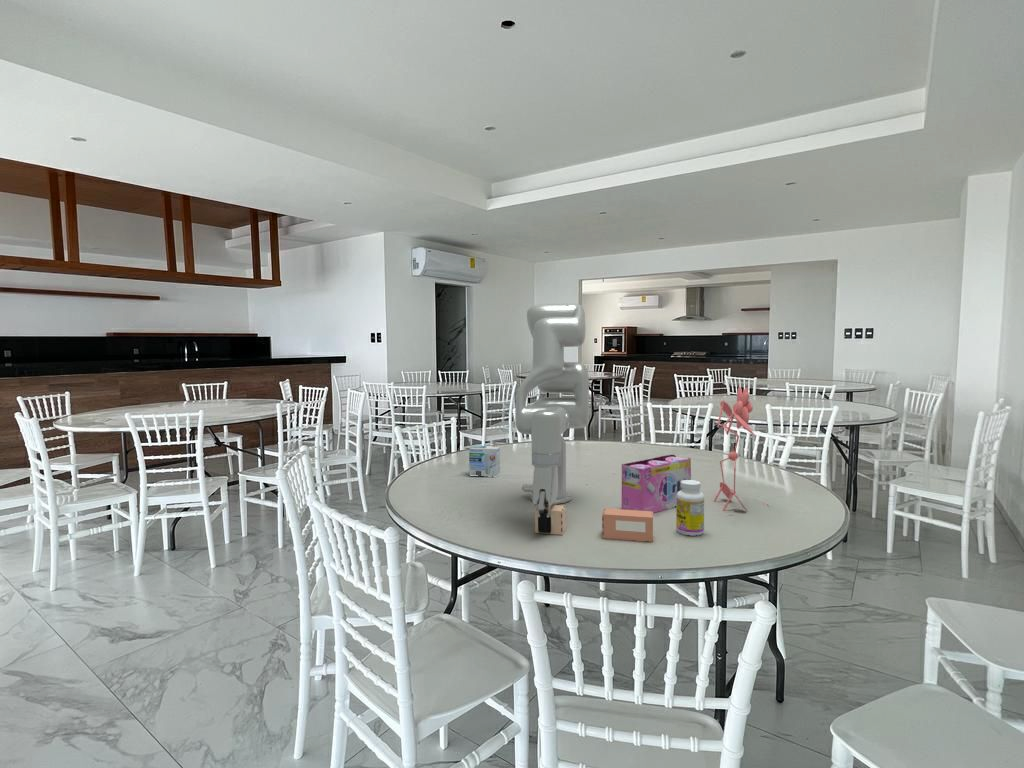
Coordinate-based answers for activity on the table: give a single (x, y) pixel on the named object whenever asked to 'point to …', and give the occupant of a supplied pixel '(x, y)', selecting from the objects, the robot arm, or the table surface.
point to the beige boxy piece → (554, 519)
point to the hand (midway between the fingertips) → (546, 528)
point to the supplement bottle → (690, 509)
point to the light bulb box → (484, 460)
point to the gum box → (653, 483)
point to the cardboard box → (627, 524)
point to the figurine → (742, 418)
